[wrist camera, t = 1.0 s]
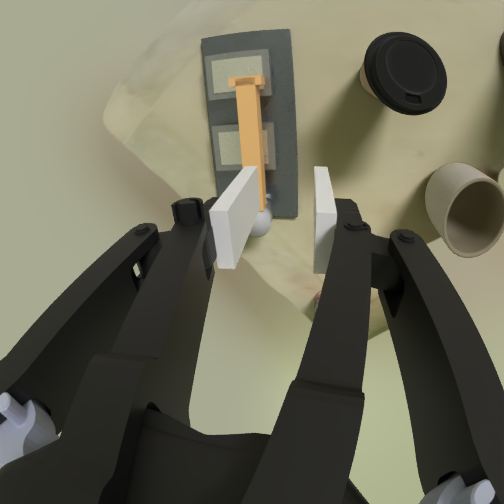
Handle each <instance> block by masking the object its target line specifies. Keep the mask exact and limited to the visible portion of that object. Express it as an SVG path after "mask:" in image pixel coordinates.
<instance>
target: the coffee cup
mask: <svg viewBox="0 0 504 504" xmlns="http://www.w3.org/2000/svg"><path fill="white" fill-rule="evenodd" d="M360 81H361V84H362V86H363V88H364V89H365V90H366V91H367V92H368V93H370V94H371V95H372V96H374V97H376V98H377V99H379V100H380V101H381V102H382V103H384V104H385V105H386V106H387V107H389V108H390V109H392V110H394V111H396V112H399V113H402V114H405V115H421V114H425V113H428V112H430V111H432V110H434V109H435V108H436V107H437V106H438V105H439V104H440V103H441V101H442V100H443V98H444V96H445V93H446V88H447V76H446V71H445V68H444V65H443V63H442V61H441V59H440V57H439V55H438V54H437V53H436V51H435V50H434V49H433V48H432V47H431V46H430V45H429V44H428V43H427V42H425V41H424V40H422V39H421V38H419V37H417V36H415V35H412V34H409V33H405V32H390V33H386V34H383V35H380V36H379V37H377V38H376V39H375V40H374V41H372V43H371V44H370V45H369V47H368V49H367V51H366V54H365V58H364V62H363V64H362V67H361V69H360Z"/></svg>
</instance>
